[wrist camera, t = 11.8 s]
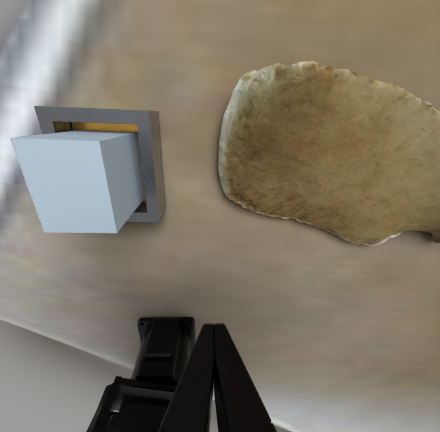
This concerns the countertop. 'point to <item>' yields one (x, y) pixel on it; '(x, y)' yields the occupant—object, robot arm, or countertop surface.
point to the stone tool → (332, 152)
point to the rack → (120, 122)
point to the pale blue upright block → (82, 178)
